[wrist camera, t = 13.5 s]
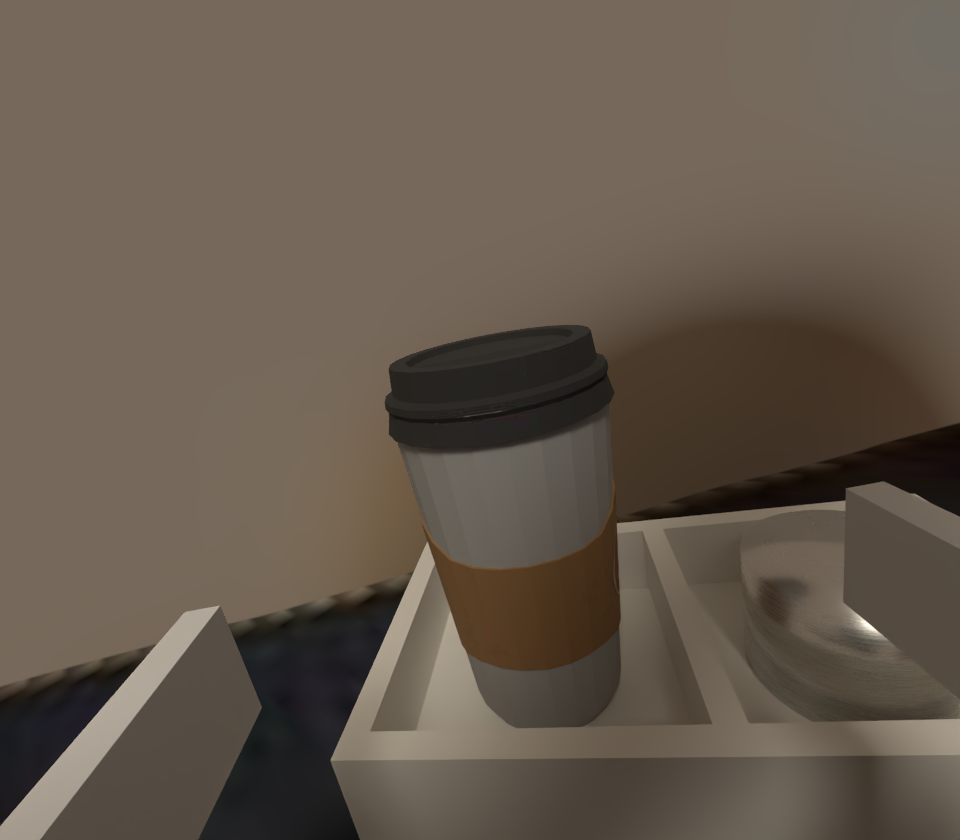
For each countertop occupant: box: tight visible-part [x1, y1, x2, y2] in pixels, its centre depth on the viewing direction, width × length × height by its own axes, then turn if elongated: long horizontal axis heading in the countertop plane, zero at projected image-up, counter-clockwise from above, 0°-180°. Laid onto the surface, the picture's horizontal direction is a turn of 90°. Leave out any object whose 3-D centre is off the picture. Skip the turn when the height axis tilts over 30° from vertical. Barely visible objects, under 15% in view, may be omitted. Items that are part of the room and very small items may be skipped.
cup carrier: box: [331, 494, 960, 840], centre depth 20 cm, size 25×13×4 cm, turn 82°
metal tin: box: [740, 510, 960, 722], centre depth 18 cm, size 7×7×5 cm
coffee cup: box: [385, 325, 621, 728], centre depth 19 cm, size 8×8×15 cm
